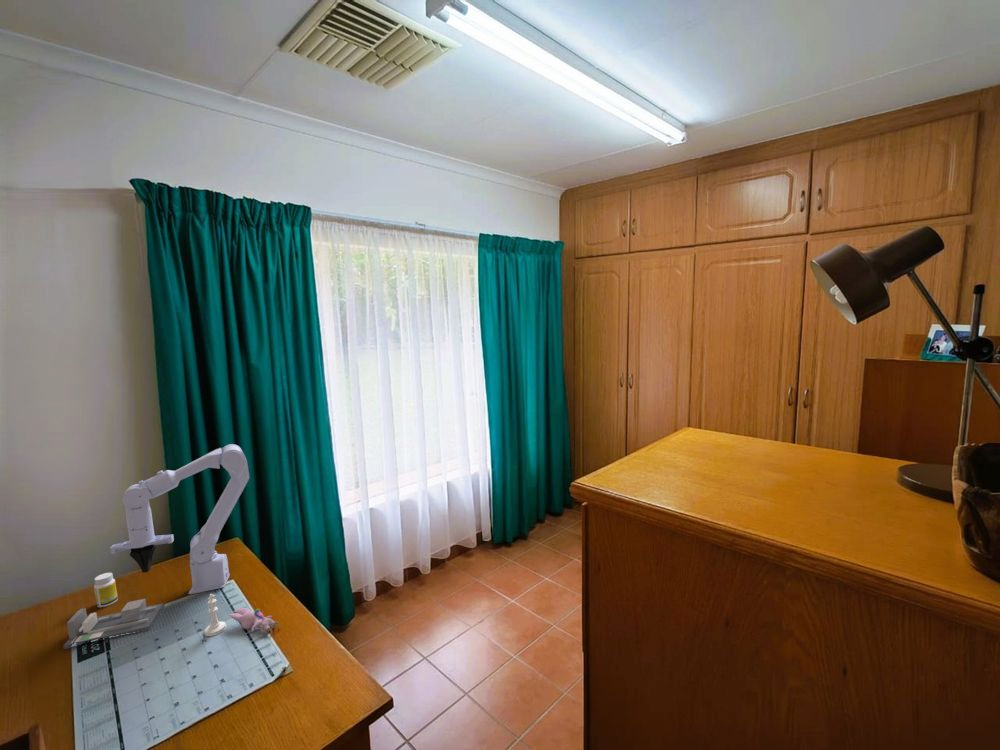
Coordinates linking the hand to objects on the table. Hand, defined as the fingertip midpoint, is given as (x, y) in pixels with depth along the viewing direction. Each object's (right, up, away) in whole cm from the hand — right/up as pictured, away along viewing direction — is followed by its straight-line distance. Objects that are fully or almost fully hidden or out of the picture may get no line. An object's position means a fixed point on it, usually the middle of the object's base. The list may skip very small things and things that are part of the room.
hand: (146, 570), depth 131 cm
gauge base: (0, -11, -10) cm, 15 cm away
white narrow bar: (-5, -10, -13) cm, 17 cm away
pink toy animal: (+38, -10, -13) cm, 42 cm away
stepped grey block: (+2, -9, -9) cm, 13 cm away
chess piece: (+28, -10, -13) cm, 33 cm away
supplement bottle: (-13, -11, +2) cm, 17 cm away
